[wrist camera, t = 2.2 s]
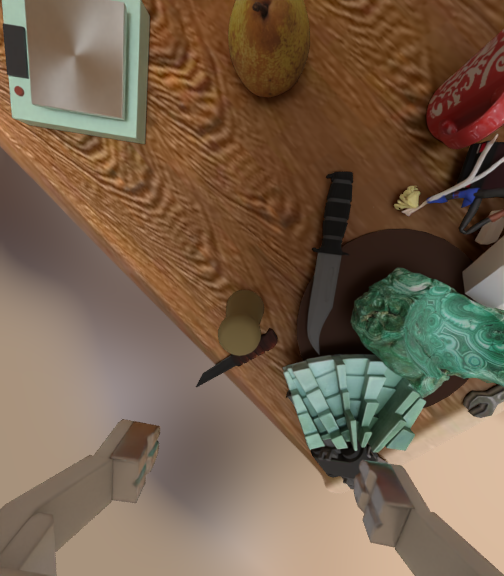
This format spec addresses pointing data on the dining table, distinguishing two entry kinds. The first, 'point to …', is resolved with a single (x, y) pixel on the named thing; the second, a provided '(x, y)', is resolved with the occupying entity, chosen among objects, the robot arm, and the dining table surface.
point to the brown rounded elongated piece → (241, 323)
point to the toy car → (484, 167)
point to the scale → (72, 121)
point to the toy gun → (342, 458)
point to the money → (353, 402)
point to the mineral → (429, 331)
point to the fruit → (269, 44)
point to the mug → (470, 99)
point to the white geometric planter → (487, 268)
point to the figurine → (459, 195)
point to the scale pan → (78, 55)
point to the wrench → (484, 401)
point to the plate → (371, 269)
